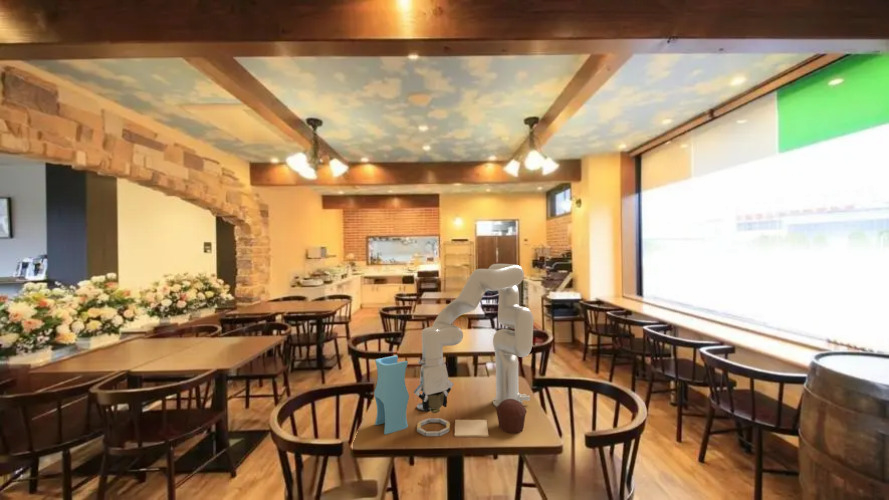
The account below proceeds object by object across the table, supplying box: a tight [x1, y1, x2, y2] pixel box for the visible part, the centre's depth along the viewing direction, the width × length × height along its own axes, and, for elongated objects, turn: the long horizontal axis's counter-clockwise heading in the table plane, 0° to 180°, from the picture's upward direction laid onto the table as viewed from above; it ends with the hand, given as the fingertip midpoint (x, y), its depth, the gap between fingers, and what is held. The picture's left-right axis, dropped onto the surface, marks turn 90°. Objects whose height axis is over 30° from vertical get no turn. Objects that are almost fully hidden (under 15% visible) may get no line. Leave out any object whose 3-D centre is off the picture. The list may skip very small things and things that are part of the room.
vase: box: [373, 354, 410, 435], centre depth 148 cm, size 10×10×25 cm
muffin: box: [495, 399, 528, 434], centre depth 145 cm, size 12×11×10 cm
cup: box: [427, 392, 444, 414], centre depth 146 cm, size 8×7×8 cm
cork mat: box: [454, 419, 489, 438], centre depth 145 cm, size 12×12×1 cm
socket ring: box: [416, 417, 451, 437], centre depth 146 cm, size 12×12×1 cm
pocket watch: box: [416, 402, 430, 411], centre depth 164 cm, size 8×8×10 cm
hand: (435, 407), depth 146 cm, fingers closed on cup, 6 cm apart
